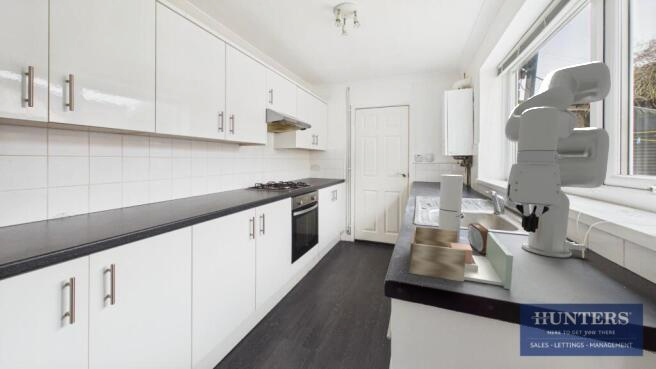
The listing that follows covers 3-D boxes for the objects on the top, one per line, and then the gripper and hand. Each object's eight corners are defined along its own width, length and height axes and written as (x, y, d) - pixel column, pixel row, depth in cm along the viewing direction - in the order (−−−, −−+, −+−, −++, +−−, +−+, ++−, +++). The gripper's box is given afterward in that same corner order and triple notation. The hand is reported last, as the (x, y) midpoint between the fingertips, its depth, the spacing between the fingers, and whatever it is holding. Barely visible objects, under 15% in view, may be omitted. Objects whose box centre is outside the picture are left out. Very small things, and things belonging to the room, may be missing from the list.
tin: (492, 258, 79) (494, 231, 78) (481, 257, 80) (483, 231, 79) (474, 243, 94) (476, 220, 93) (465, 242, 94) (466, 220, 94)
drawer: (490, 258, 78) (492, 232, 77) (510, 289, 59) (513, 255, 58) (442, 252, 83) (443, 227, 82) (446, 279, 64) (448, 248, 63)
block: (468, 261, 73) (469, 244, 73) (471, 268, 68) (472, 250, 68) (449, 259, 75) (450, 242, 74) (450, 265, 70) (451, 247, 70)
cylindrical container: (434, 240, 96) (437, 174, 94) (453, 240, 96) (457, 174, 94) (442, 246, 89) (446, 175, 87) (463, 246, 89) (467, 175, 87)
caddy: (456, 255, 81) (457, 230, 80) (463, 281, 63) (465, 250, 62) (413, 249, 86) (414, 226, 85) (409, 272, 68) (410, 243, 67)
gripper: (566, 160, 64) (559, 231, 65) (496, 159, 70) (491, 224, 71) (582, 158, 57) (574, 238, 58) (504, 157, 63) (498, 230, 64)
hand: (529, 231), depth 65 cm, fingers closed
